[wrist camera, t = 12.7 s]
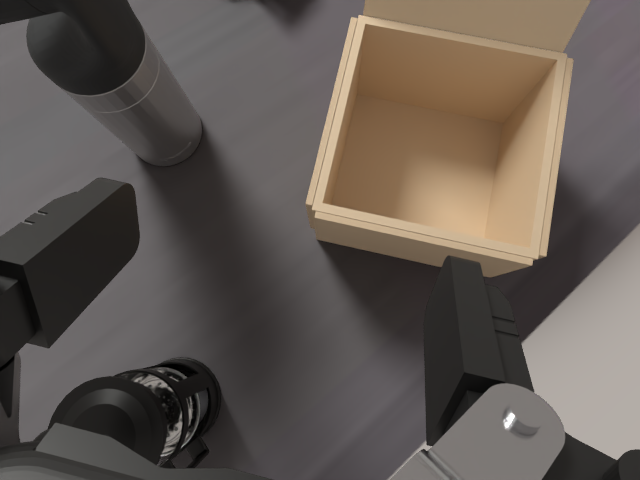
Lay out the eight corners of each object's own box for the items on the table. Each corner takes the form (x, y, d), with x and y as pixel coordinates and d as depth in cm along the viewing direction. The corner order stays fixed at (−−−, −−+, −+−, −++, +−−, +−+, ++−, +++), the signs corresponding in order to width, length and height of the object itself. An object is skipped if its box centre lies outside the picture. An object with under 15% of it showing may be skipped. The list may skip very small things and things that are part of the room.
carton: (487, 283, 51) (544, 268, 37) (310, 243, 52) (302, 214, 39) (513, 122, 55) (574, 55, 41) (347, 89, 56) (352, 13, 42)
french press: (120, 385, 50) (-54, 436, 27) (189, 335, 51) (75, 345, 28) (175, 476, 48) (37, 611, 25) (245, 422, 49) (172, 508, 26)
